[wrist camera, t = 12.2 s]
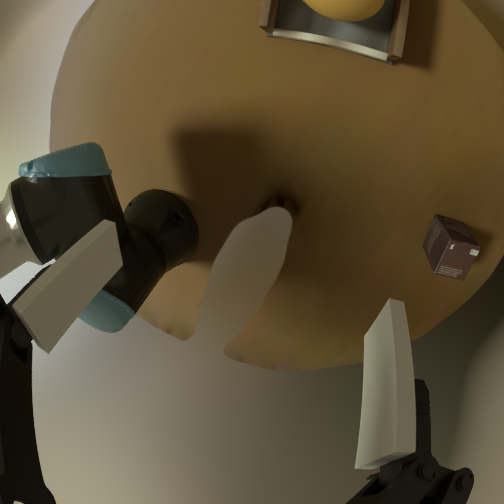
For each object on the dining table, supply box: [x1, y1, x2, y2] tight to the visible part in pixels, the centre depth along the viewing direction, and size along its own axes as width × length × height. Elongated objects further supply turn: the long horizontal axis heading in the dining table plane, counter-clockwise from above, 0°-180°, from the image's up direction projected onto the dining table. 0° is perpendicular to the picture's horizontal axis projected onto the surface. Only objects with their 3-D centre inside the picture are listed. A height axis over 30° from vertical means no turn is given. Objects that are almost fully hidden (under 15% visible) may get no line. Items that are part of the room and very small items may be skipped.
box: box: [423, 215, 480, 280], centre depth 33 cm, size 6×6×7 cm
